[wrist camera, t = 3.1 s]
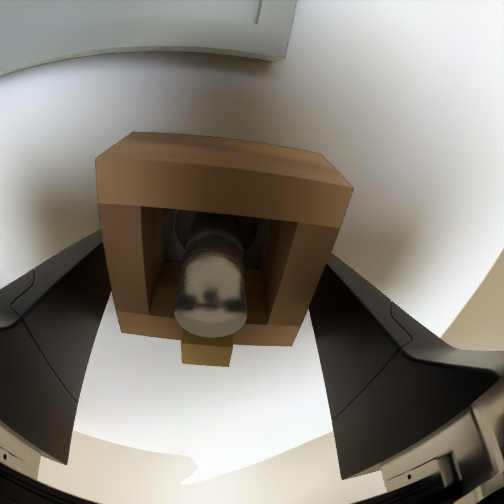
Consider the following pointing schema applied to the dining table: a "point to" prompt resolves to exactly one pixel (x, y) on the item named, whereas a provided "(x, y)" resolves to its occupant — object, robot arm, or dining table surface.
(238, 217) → the metal knob
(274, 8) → the tray
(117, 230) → the ring
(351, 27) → the dining table surface
